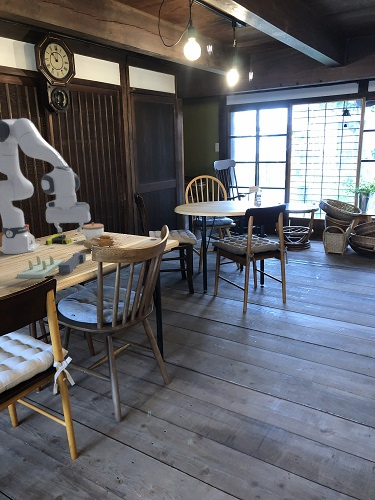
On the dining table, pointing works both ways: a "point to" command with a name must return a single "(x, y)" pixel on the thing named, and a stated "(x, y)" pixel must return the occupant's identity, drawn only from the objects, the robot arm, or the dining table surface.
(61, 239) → the stun gun
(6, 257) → the dining table surface
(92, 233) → the lidded bowl
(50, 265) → the rack
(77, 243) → the dining table surface
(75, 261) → the grey long bar
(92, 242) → the nautilus
